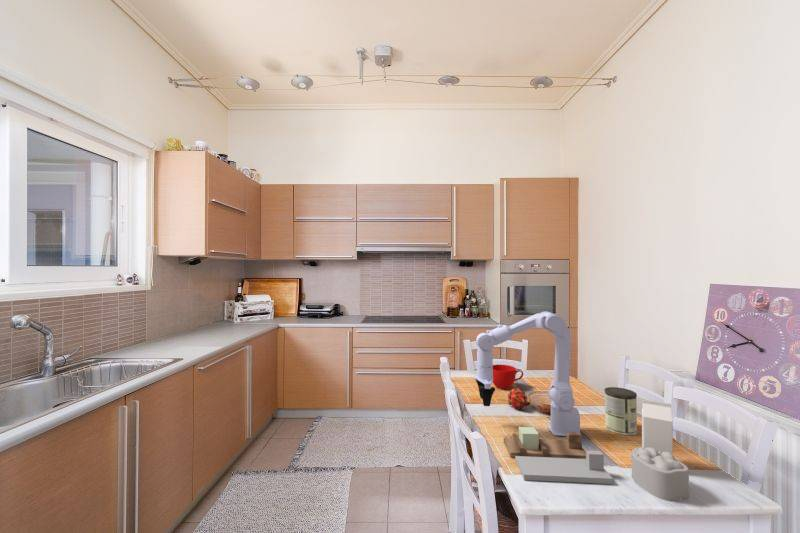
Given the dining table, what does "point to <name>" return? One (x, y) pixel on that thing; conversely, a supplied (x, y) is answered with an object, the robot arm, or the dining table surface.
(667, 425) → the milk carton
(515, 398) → the dragon fruit
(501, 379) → the ceramic cup
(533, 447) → the cube
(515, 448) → the walnut strip
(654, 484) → the lumpy-topped squat cylinder
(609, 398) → the coffee can
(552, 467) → the slate strip
